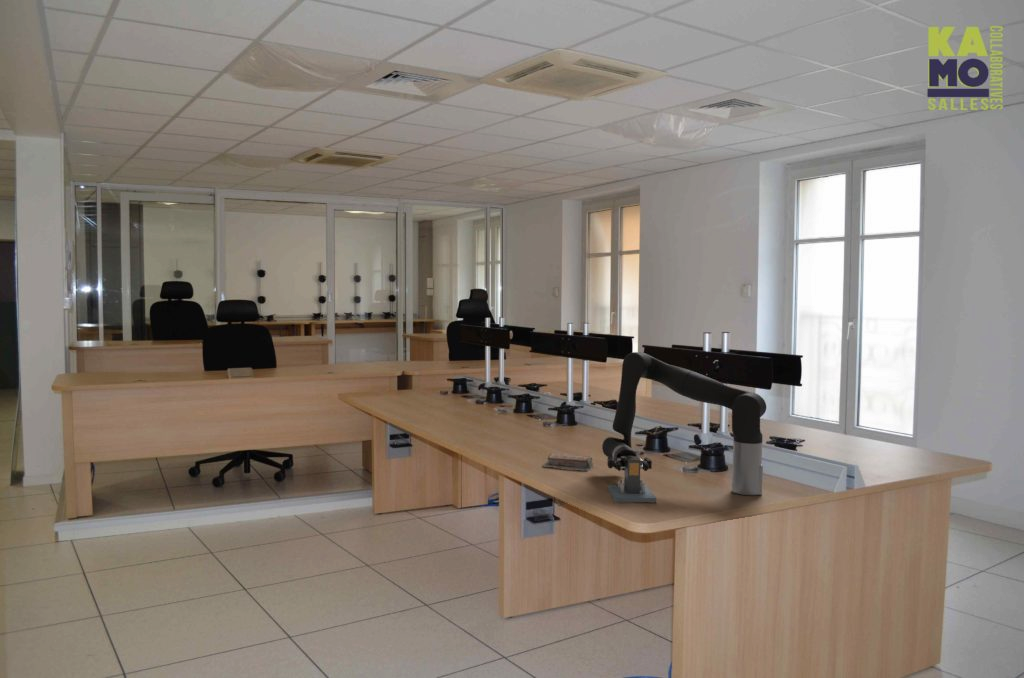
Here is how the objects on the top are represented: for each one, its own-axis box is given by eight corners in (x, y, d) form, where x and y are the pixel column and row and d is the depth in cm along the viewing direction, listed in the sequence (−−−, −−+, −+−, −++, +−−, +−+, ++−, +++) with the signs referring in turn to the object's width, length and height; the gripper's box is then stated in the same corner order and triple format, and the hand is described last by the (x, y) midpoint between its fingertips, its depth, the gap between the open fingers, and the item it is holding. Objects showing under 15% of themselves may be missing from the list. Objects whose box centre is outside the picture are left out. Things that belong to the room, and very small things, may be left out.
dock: (646, 489, 254) (646, 476, 253) (656, 502, 238) (656, 488, 237) (607, 489, 253) (608, 476, 253) (615, 502, 237) (615, 488, 237)
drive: (636, 489, 249) (637, 456, 248) (639, 493, 242) (640, 459, 242) (624, 488, 248) (624, 455, 248) (627, 493, 242) (628, 459, 242)
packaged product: (594, 454, 289) (587, 459, 280) (594, 467, 289) (587, 472, 280) (549, 450, 295) (541, 455, 286) (549, 463, 295) (541, 468, 286)
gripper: (604, 446, 259) (611, 456, 243) (645, 446, 260) (655, 456, 243) (603, 467, 260) (610, 479, 243) (644, 468, 260) (654, 479, 244)
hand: (632, 467), depth 243 cm, fingers open, 8 cm apart
